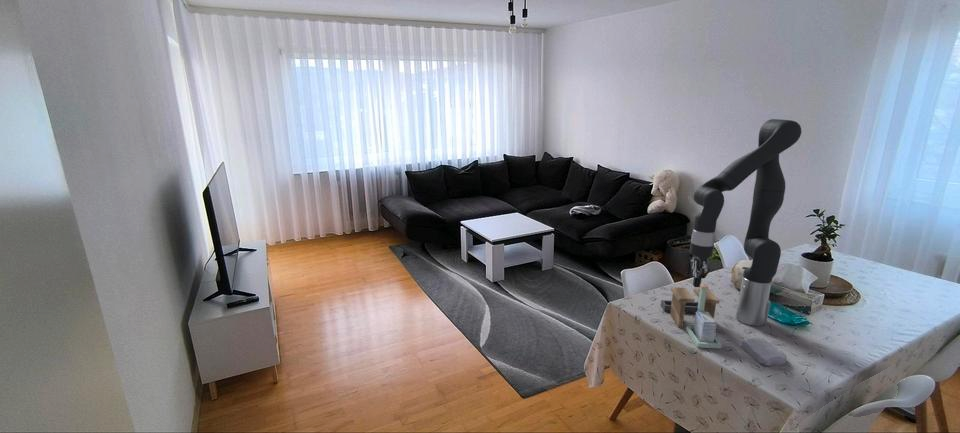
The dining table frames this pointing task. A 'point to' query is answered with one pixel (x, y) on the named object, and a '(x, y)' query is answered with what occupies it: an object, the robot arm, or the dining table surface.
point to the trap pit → (689, 306)
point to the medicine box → (704, 327)
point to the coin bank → (739, 272)
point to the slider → (701, 309)
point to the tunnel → (684, 296)
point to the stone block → (763, 351)
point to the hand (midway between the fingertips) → (696, 286)
